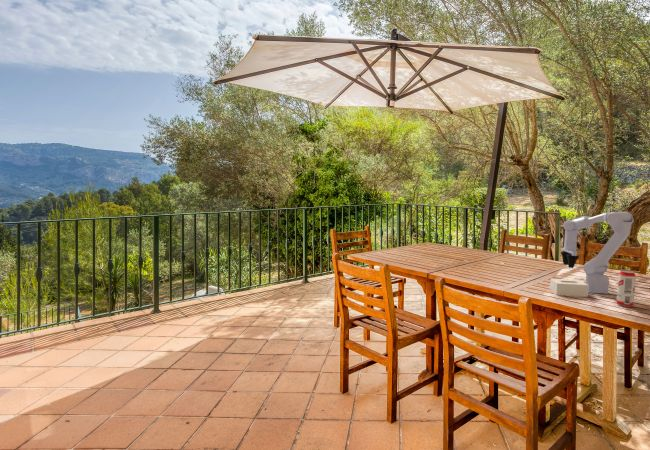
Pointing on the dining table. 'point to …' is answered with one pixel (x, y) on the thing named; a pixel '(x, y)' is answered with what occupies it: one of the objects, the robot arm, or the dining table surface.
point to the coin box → (569, 287)
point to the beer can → (626, 288)
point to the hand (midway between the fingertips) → (568, 266)
